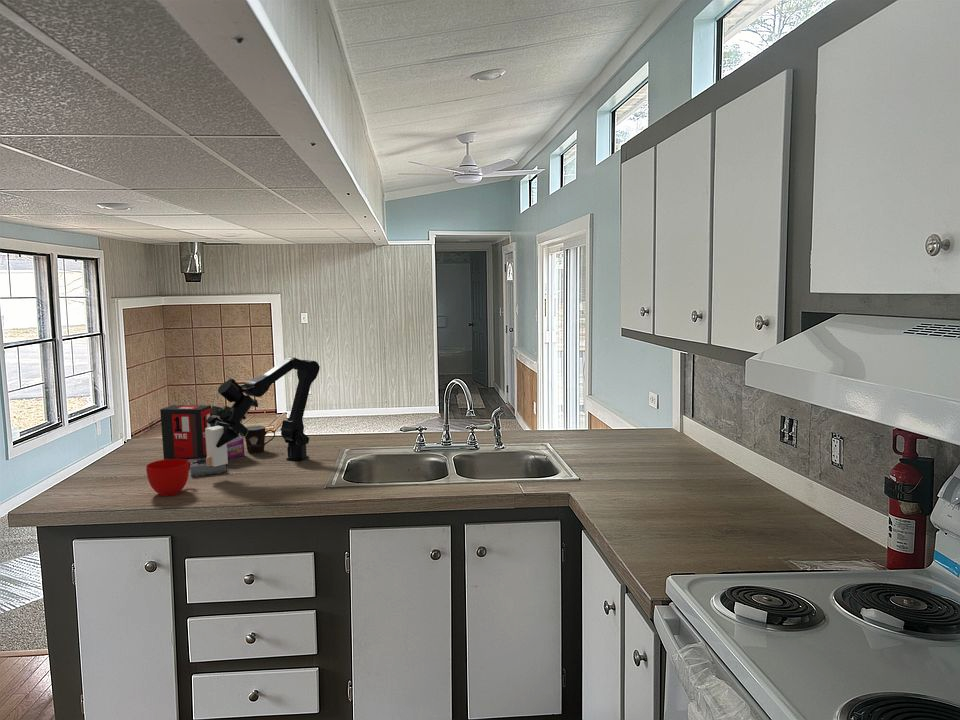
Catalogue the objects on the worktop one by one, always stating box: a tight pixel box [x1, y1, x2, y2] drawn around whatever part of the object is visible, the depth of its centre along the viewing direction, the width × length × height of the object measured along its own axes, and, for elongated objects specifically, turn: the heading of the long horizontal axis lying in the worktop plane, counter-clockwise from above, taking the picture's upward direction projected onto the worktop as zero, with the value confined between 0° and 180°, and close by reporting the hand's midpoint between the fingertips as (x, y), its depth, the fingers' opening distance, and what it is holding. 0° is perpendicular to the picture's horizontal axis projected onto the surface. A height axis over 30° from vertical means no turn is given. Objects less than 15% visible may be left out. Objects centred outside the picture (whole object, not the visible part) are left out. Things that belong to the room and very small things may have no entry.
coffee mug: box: [244, 425, 276, 454], centre depth 286 cm, size 12×9×10 cm
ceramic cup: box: [145, 459, 190, 497], centre depth 234 cm, size 13×17×10 cm
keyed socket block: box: [187, 457, 227, 477], centre depth 259 cm, size 12×12×4 cm
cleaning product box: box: [159, 404, 213, 460], centre depth 280 cm, size 16×9×20 cm, turn 84°
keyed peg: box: [205, 426, 229, 467], centre depth 246 cm, size 6×5×13 cm
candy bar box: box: [221, 419, 245, 460], centre depth 277 cm, size 11×5×16 cm, turn 143°
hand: (212, 445), depth 245 cm, fingers closed on keyed peg, 5 cm apart
